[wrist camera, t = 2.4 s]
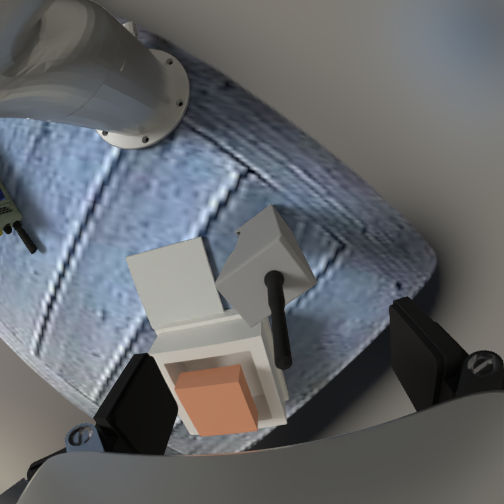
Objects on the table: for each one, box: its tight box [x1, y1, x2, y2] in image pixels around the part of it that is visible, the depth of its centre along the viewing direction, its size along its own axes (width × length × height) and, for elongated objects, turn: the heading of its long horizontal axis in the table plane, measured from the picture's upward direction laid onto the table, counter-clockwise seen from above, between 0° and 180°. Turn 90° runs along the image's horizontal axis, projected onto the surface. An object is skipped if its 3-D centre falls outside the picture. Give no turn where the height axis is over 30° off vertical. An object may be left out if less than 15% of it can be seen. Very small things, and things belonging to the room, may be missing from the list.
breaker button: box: [174, 364, 258, 436], centre depth 30 cm, size 8×7×3 cm
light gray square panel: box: [126, 236, 224, 329], centre depth 36 cm, size 10×10×1 cm
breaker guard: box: [148, 308, 289, 435], centre depth 35 cm, size 15×14×7 cm
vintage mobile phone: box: [215, 204, 317, 370], centre depth 22 cm, size 4×5×25 cm
